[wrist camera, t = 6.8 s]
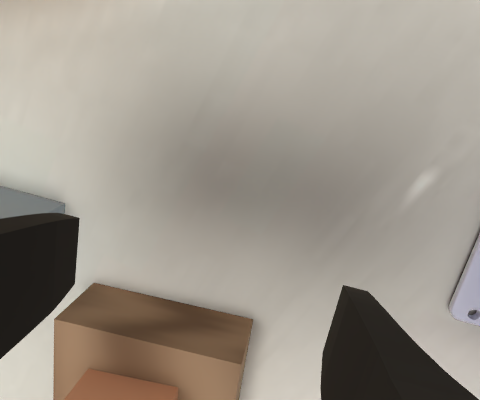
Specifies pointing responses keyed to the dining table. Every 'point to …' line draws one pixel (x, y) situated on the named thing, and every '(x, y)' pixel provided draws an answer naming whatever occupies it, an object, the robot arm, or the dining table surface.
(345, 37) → the dining table surface
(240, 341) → the walnut block
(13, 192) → the slate-blue cube
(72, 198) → the dining table surface
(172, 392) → the terracotta cube
